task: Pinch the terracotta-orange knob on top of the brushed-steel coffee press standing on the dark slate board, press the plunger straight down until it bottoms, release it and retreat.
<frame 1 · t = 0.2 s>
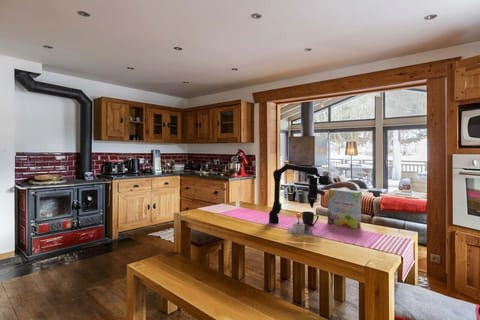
hand: (312, 206, 190), 14 cm above the table, fingers open, 9 cm apart
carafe: (298, 231, 176), resting on slate board
slate board: (299, 232, 175), on the table
plunger: (298, 219, 175), point 9 cm above the table, slide at 0.0 cm
snack box: (343, 225, 196), on the table
mug: (310, 226, 191), on the table
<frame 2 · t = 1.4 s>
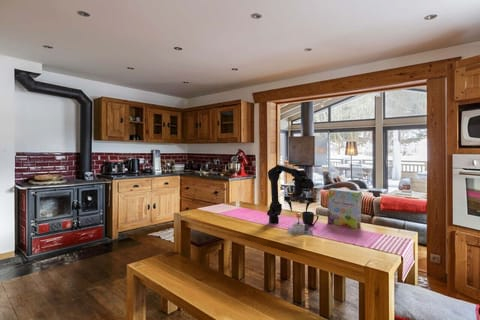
hand: (298, 211, 176), 14 cm above the table, fingers open, 9 cm apart
nothing on the table moved.
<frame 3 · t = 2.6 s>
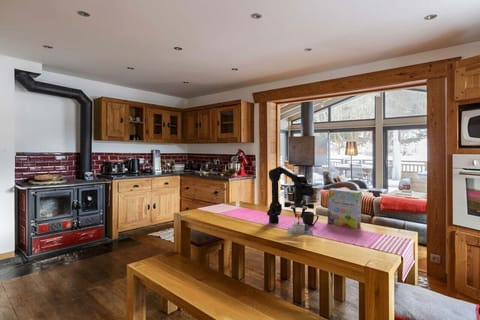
hand: (298, 218, 175), 9 cm above the table, fingers closed on plunger, 3 cm apart
plunger: (298, 219, 175), point 9 cm above the table, slide at 0.0 cm, touching gripper
everything else where it was.
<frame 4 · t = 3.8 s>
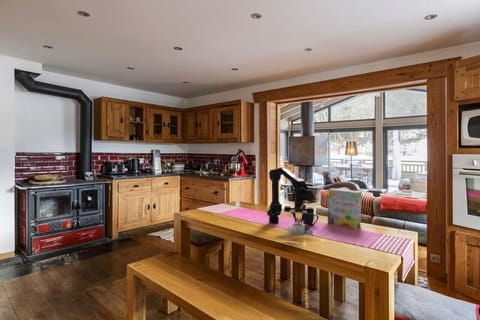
hand: (298, 222, 175), 7 cm above the table, fingers closed on plunger, 3 cm apart
plunger: (298, 224, 176), point 6 cm above the table, slide at 3.0 cm, touching gripper
everything else where it was.
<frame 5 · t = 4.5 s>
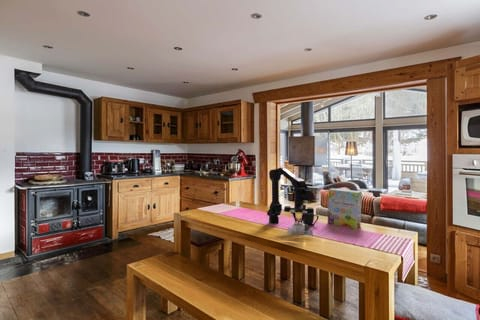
hand: (298, 222, 175), 7 cm above the table, fingers closed on plunger, 3 cm apart
plunger: (298, 224, 176), point 6 cm above the table, slide at 3.0 cm, touching gripper
everything else where it was.
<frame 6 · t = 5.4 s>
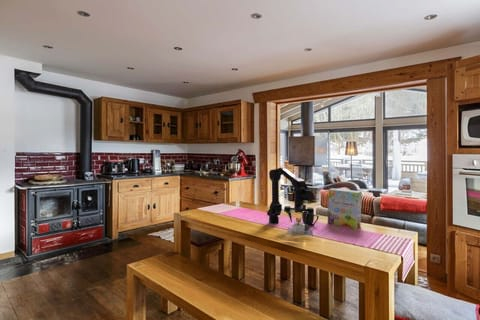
hand: (298, 222, 175), 6 cm above the table, fingers open, 9 cm apart
plunger: (298, 224, 176), point 6 cm above the table, slide at 3.0 cm
everything else where it was.
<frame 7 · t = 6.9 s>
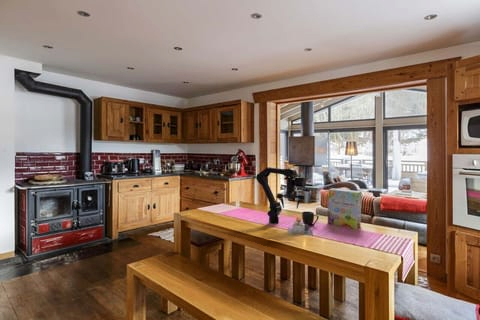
hand: (290, 208, 188), 13 cm above the table, fingers open, 9 cm apart
nothing on the table moved.
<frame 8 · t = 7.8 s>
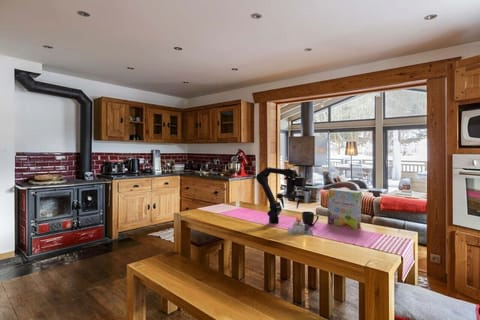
hand: (290, 208, 188), 13 cm above the table, fingers open, 9 cm apart
nothing on the table moved.
at the end: plunger slide at 3.0 cm; the gripper is holding nothing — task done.
